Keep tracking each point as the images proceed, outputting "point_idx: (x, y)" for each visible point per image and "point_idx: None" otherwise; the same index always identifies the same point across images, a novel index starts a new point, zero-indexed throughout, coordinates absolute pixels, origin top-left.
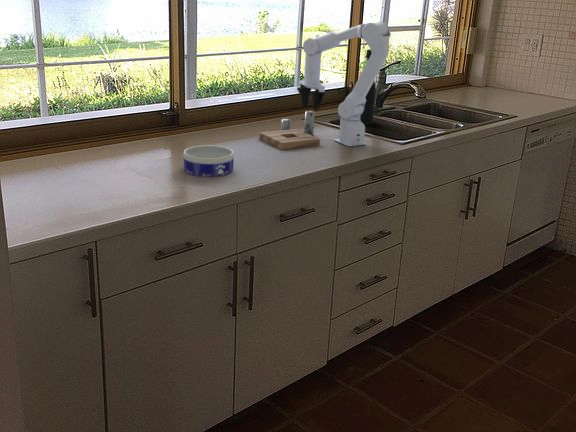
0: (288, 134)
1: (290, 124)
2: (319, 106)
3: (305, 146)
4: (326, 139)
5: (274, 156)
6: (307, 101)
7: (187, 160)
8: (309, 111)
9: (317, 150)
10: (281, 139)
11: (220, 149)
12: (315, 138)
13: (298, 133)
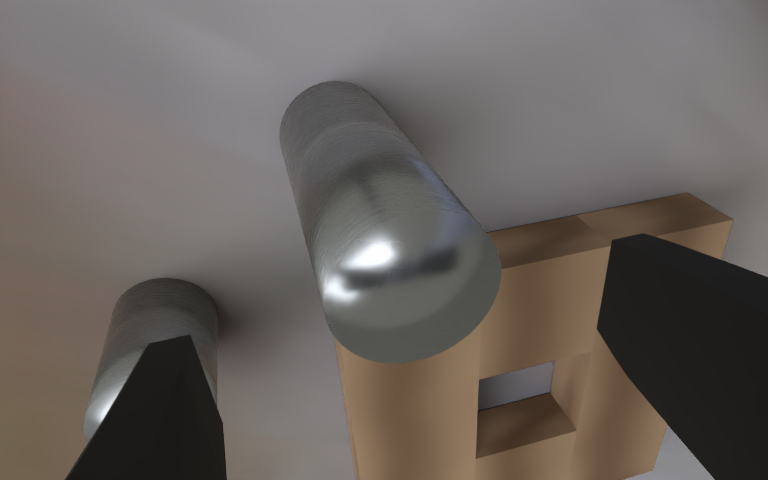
0: (475, 397)
1: (196, 348)
2: (711, 262)
3: None
4: (567, 21)
5: (691, 471)
6: (181, 429)
7: None
8: (392, 294)
9: (759, 251)
10: (591, 462)
11: None
12: (704, 250)
13: (502, 331)
